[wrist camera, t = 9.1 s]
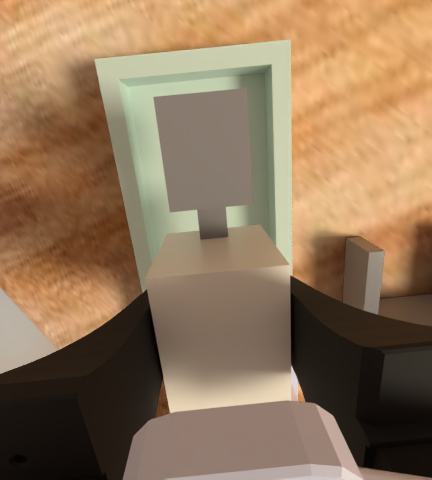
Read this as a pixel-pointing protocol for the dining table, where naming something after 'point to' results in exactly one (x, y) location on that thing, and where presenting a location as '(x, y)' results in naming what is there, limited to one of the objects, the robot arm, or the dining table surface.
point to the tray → (148, 145)
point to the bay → (378, 286)
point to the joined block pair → (216, 265)
